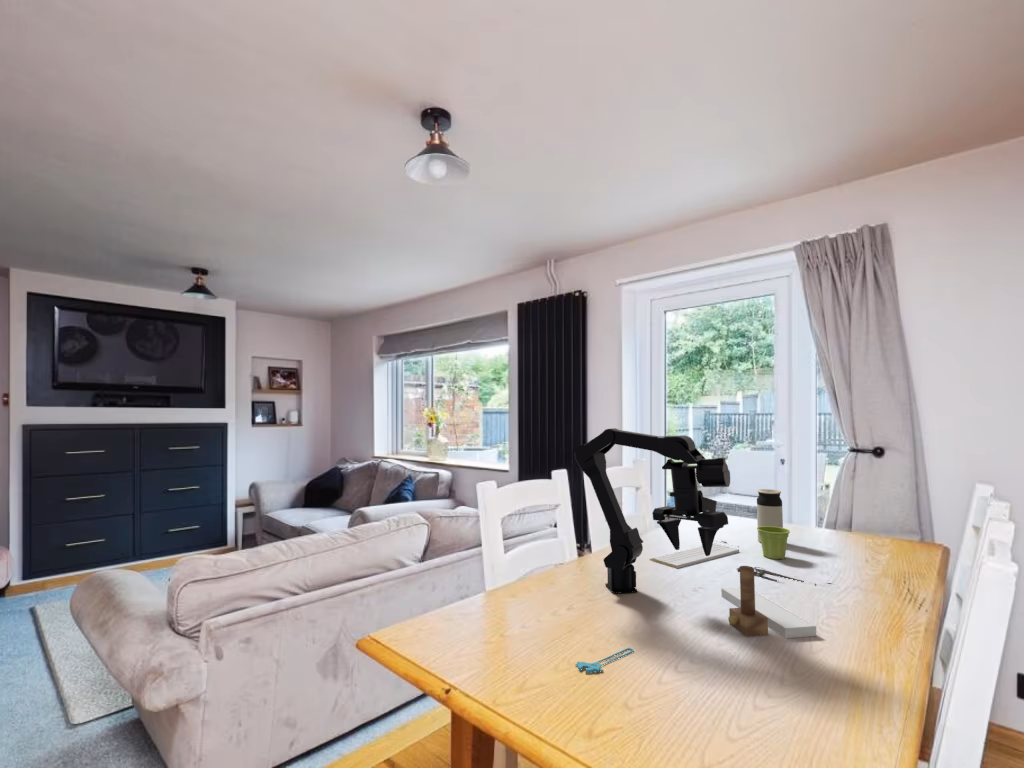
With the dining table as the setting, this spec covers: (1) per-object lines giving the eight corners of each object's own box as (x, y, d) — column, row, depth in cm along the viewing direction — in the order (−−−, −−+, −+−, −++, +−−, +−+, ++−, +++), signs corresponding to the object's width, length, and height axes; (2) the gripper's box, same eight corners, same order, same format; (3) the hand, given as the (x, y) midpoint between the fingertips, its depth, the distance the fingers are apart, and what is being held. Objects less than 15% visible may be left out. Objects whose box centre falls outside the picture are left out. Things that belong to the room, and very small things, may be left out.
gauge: (739, 637, 106) (737, 573, 107) (722, 625, 112) (721, 564, 113) (768, 635, 107) (766, 571, 108) (750, 623, 113) (749, 563, 114)
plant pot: (760, 551, 170) (759, 524, 170) (793, 555, 164) (792, 528, 165) (754, 558, 162) (754, 530, 163) (788, 563, 157) (787, 534, 157)
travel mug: (762, 545, 177) (760, 492, 178) (755, 539, 185) (753, 488, 186) (786, 545, 176) (785, 492, 177) (778, 540, 184) (777, 489, 185)
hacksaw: (734, 572, 150) (734, 567, 150) (753, 565, 156) (753, 560, 156) (823, 596, 130) (823, 590, 130) (841, 587, 136) (841, 581, 136)
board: (785, 638, 106) (785, 628, 106) (721, 596, 129) (721, 588, 130) (816, 635, 107) (816, 625, 107) (747, 594, 130) (747, 586, 131)
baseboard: (645, 560, 162) (676, 570, 152) (645, 551, 162) (676, 560, 152) (707, 545, 179) (739, 554, 169) (707, 537, 179) (739, 545, 169)
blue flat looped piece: (591, 674, 91) (571, 663, 95) (591, 680, 91) (571, 668, 95) (642, 650, 99) (621, 641, 103) (642, 656, 99) (621, 646, 103)
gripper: (739, 485, 122) (747, 552, 121) (678, 482, 138) (685, 541, 137) (707, 490, 117) (715, 561, 115) (648, 487, 133) (654, 549, 131)
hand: (692, 552), depth 125 cm, fingers open, 9 cm apart
